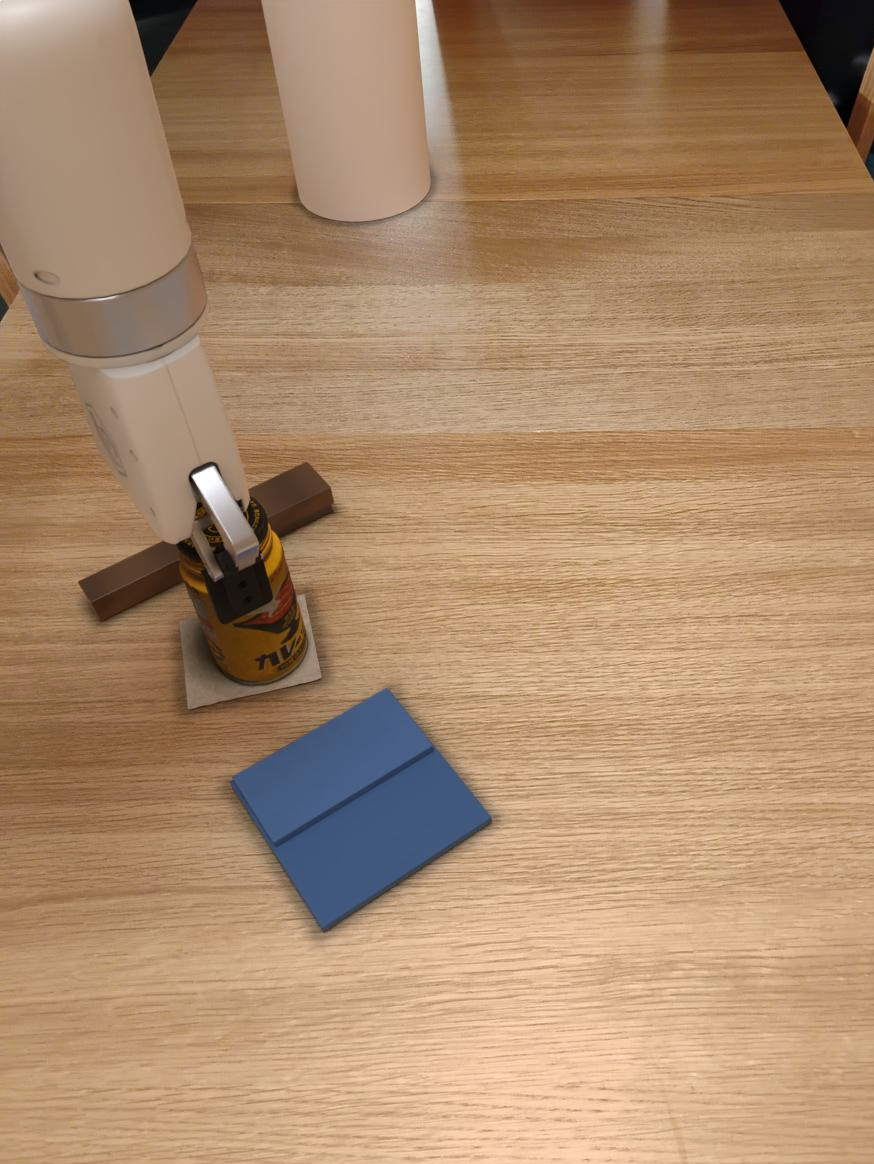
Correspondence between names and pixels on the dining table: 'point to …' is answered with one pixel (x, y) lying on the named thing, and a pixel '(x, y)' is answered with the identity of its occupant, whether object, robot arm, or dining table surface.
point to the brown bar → (157, 567)
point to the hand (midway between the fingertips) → (207, 557)
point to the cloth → (358, 806)
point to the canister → (351, 104)
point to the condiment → (245, 627)
